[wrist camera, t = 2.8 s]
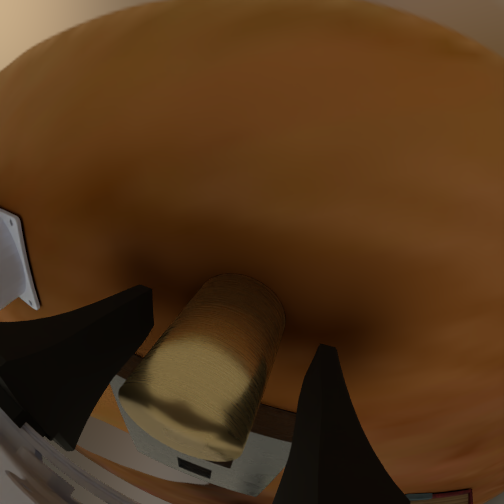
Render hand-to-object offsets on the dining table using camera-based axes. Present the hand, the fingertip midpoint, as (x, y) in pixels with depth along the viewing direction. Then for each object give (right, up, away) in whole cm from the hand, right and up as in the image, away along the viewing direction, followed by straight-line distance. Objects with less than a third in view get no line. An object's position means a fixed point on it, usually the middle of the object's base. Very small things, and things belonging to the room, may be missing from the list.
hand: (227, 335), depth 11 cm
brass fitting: (0, +1, +1) cm, 1 cm away
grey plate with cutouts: (-3, -11, +7) cm, 13 cm away
